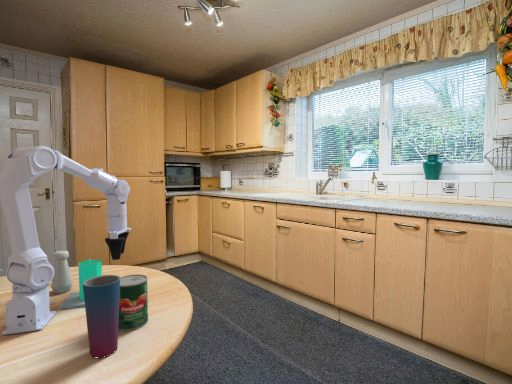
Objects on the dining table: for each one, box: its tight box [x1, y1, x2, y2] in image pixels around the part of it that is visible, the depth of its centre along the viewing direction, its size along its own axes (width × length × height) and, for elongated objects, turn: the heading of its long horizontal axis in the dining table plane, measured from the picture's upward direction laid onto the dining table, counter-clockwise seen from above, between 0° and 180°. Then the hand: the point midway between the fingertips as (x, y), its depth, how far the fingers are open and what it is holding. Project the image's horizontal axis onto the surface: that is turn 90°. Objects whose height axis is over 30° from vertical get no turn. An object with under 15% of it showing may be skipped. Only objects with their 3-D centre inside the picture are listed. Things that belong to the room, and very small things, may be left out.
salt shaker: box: [50, 250, 74, 295], centre depth 92 cm, size 6×6×13 cm
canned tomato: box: [118, 274, 149, 332], centre depth 71 cm, size 8×8×11 cm
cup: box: [83, 274, 121, 358], centre depth 59 cm, size 7×7×15 cm
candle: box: [78, 259, 103, 300], centre depth 86 cm, size 6×6×12 cm
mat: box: [59, 292, 85, 311], centre depth 85 cm, size 10×10×1 cm
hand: (118, 256), depth 95 cm, fingers open, 7 cm apart
